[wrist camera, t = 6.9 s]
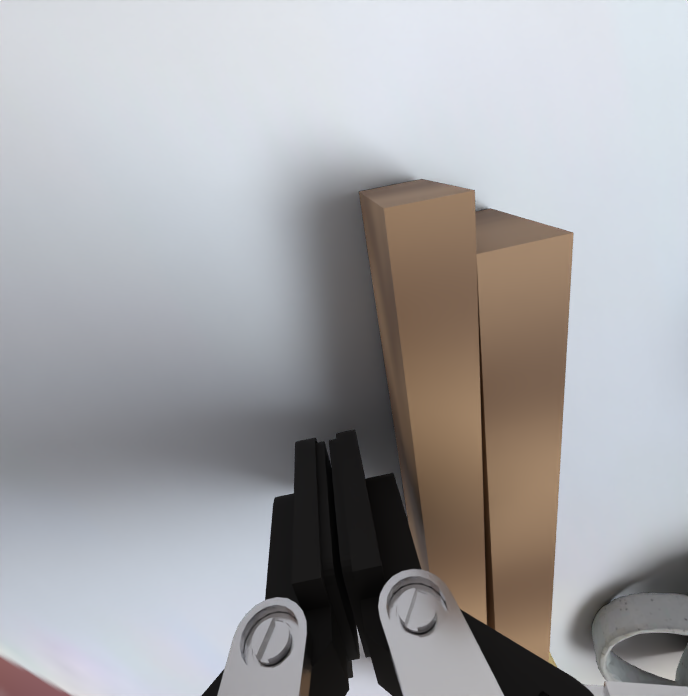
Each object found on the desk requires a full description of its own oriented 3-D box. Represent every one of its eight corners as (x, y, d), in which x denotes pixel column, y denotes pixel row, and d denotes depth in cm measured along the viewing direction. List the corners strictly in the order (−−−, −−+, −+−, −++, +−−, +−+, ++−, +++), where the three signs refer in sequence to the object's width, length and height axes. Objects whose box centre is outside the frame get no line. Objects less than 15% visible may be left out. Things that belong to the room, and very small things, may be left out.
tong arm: (358, 191, 9) (383, 208, 6) (422, 179, 9) (474, 190, 6) (422, 618, 16) (447, 713, 13) (457, 611, 16) (488, 704, 13)
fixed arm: (422, 223, 9) (476, 253, 6) (490, 208, 9) (573, 232, 6) (468, 645, 17) (501, 742, 14) (504, 637, 17) (544, 733, 14)
